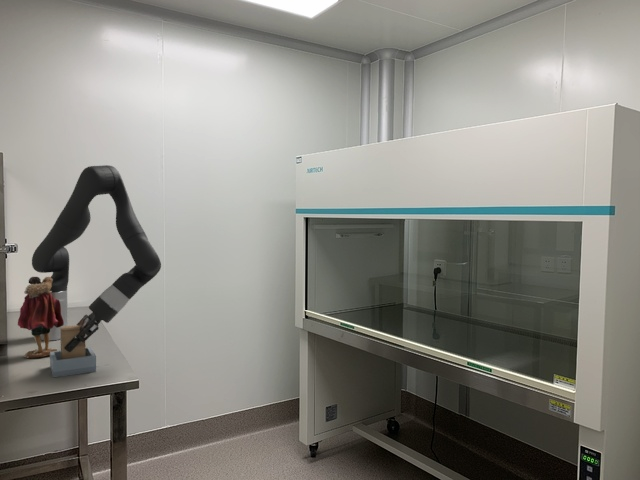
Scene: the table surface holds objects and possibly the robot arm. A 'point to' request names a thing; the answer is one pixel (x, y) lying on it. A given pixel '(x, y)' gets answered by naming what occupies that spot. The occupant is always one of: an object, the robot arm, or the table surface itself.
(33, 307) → the figurine
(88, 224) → the robot arm
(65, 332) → the tan wooden block
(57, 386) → the table surface
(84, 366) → the open box
